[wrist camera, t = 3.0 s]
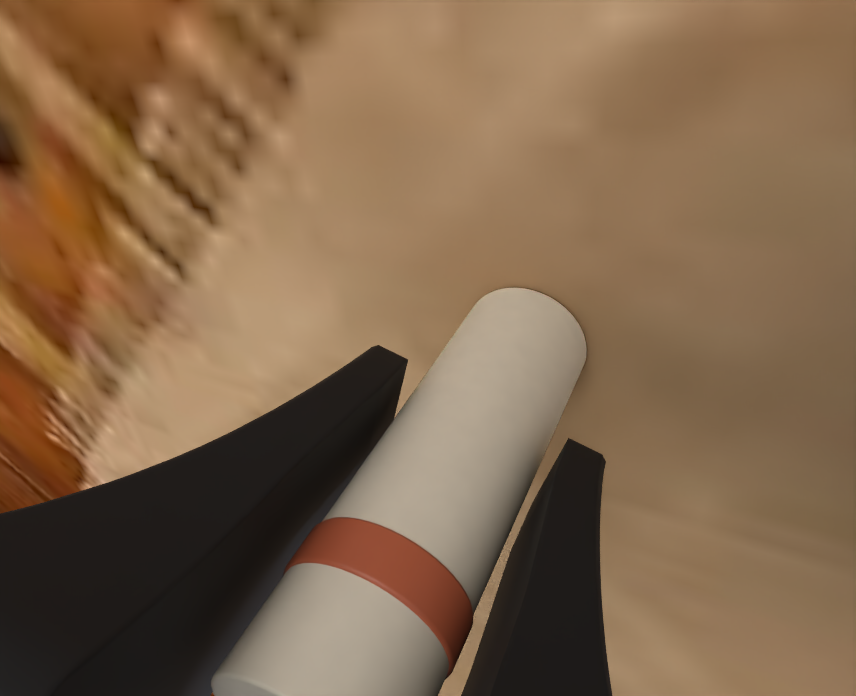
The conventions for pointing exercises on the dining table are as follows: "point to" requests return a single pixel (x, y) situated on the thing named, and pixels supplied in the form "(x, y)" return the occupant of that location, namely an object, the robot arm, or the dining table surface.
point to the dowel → (419, 518)
